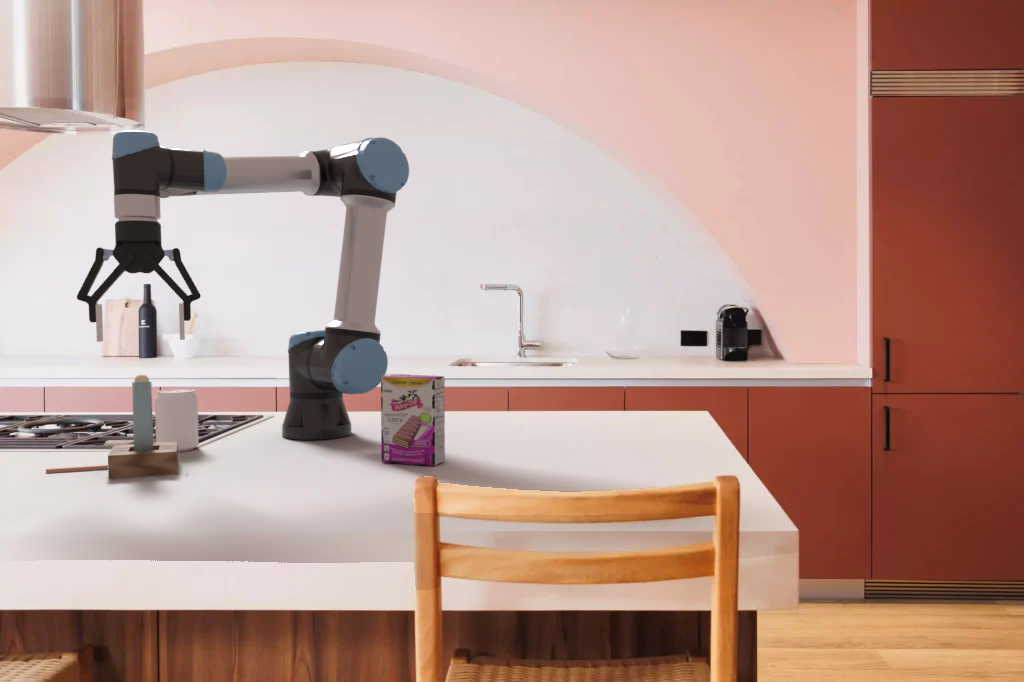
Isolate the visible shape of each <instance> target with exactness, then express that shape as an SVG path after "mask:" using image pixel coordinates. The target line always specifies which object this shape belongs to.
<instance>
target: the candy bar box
mask: <svg viewBox="0 0 1024 682" xmlns="http://www.w3.org/2000/svg"><path fill="white" fill-rule="evenodd" d="M445 380H446V379H445V376H442V375H425V374H424V375H423V374H421V375H420V374H406V373H405V374H403V373H390V374H385V375H384V376H382V377H381V383H380V405H381V406H380V407H381V408H380V414H381V415H380V418H381V421H380V422H381V431H380V433H381V437H380V438H381V439H380V441H381V463H384V464H399V465H410V466H411V465H413V466H425V467H436V466H439V465H441V464H443V463H445V461H446V455H445V454H446V452H445V451H446V448H445V446H446V445H445V444H446V443H445V440H446V439H445V438H446V437H445V436H446V435H445V433H446V431H445V425H446V424H445V417H446V416H445V413H446V412H445V390H446V389H445V386H446V385H445Z"/></svg>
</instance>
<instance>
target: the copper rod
mask: <svg viewBox="0 0 1024 682" xmlns="http://www.w3.org/2000/svg"><path fill="white" fill-rule="evenodd" d="M98 470H99V471H101V470H108V464H104V465H88V466H71V467H69V466H68V467H57V468H56V467H54V468H46V470H45V474H52V473H53V474H54V473H67V472H69V473H70V472H82V471H98Z"/></svg>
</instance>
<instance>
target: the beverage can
mask: <svg viewBox="0 0 1024 682" xmlns="http://www.w3.org/2000/svg"><path fill="white" fill-rule="evenodd" d="M156 393H157V394H156V396H155V397H154V410H155V411H154V413H155V417H154V418H155V443H163V442H178V453H180V452H187V451H191V450H194V449H195V448H197V447H199V408H198V402H199V401H198V395H197V394H196V391H195V389H193V388H170V389H169V388H168V389H163V390H162V389H160V390H157V391H156Z"/></svg>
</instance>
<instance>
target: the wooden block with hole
mask: <svg viewBox="0 0 1024 682" xmlns="http://www.w3.org/2000/svg"><path fill="white" fill-rule="evenodd" d="M107 465H108V469H107V470H108V475H107V476H108V479H109V480H110V479H125V478H138V477H139V478H140V477H142V478H143V477H155V476H168V475H177V474H178V468H179V452H178V442H163V443H156V442H153V450H148V451H134V443H131V444H129V443H128V444H114V445H113V446H112V447H111V450H110V451H109V453H108V454H107Z"/></svg>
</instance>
